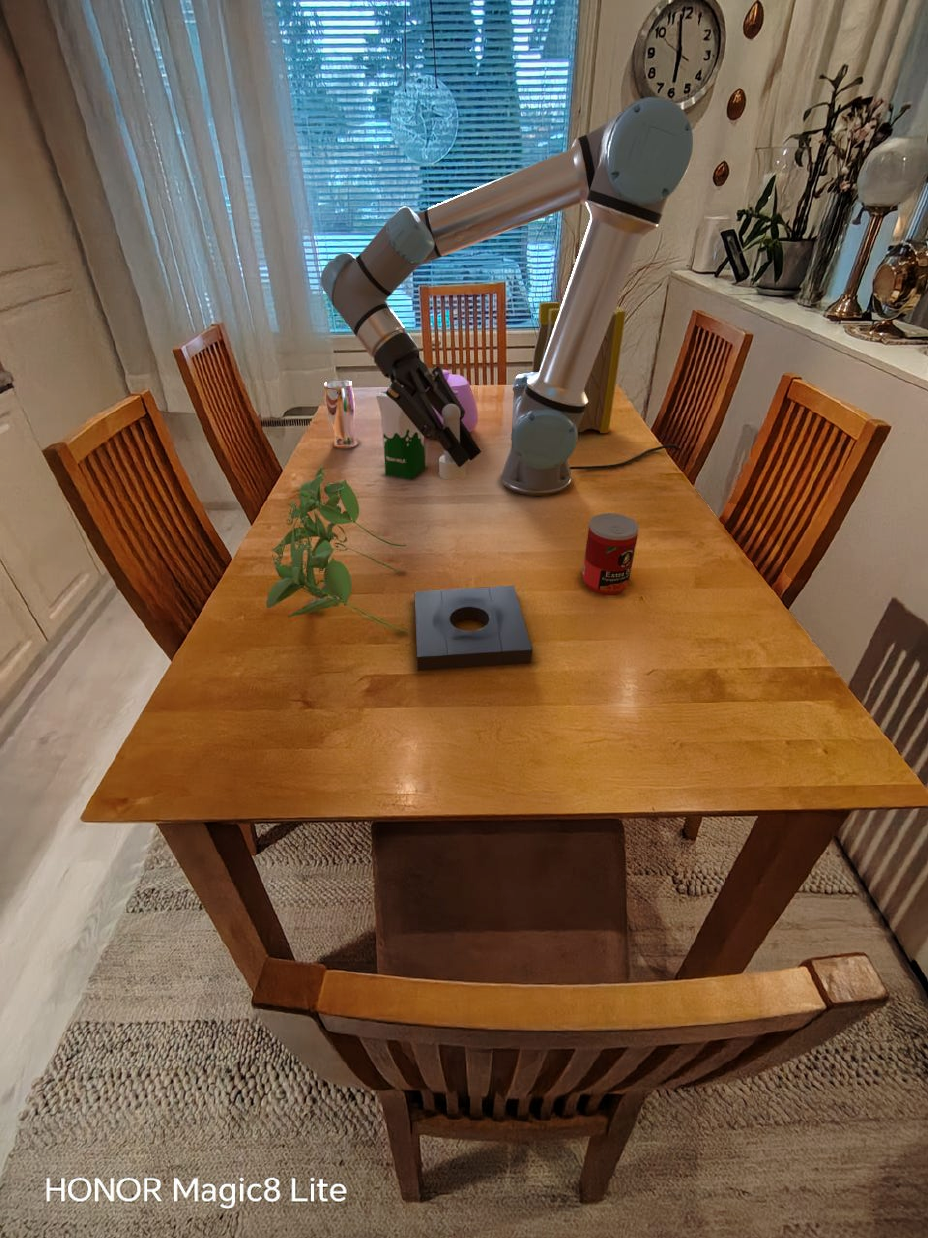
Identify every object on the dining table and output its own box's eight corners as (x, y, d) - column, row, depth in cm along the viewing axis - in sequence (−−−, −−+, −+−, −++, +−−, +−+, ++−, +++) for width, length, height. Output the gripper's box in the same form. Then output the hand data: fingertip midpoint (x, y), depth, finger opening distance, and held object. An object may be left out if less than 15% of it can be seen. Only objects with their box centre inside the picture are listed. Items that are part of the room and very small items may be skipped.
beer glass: (354, 450, 147) (346, 388, 138) (328, 448, 149) (318, 386, 139) (363, 440, 153) (356, 380, 144) (338, 438, 154) (329, 378, 145)
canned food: (601, 600, 95) (611, 540, 88) (572, 576, 101) (579, 518, 94) (638, 588, 98) (650, 529, 91) (607, 565, 103) (617, 508, 97)
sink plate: (513, 598, 96) (514, 585, 94) (531, 663, 83) (532, 649, 81) (415, 603, 95) (414, 591, 93) (418, 670, 82) (417, 657, 80)
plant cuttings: (376, 579, 113) (267, 521, 103) (426, 512, 105) (314, 443, 96) (371, 712, 85) (221, 649, 76) (439, 633, 78) (282, 553, 68)
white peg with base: (464, 468, 109) (463, 399, 101) (467, 479, 105) (466, 408, 98) (439, 469, 109) (436, 400, 101) (440, 480, 105) (437, 409, 97)
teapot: (394, 423, 163) (389, 366, 154) (468, 417, 166) (468, 360, 157) (407, 454, 145) (402, 391, 136) (489, 446, 149) (490, 384, 140)
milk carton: (430, 466, 139) (426, 378, 127) (413, 481, 132) (408, 389, 120) (397, 461, 141) (390, 374, 129) (379, 476, 135) (370, 385, 123)
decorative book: (598, 420, 163) (613, 298, 145) (611, 434, 155) (630, 306, 136) (527, 424, 161) (534, 301, 143) (537, 439, 152) (545, 310, 134)
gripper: (408, 350, 108) (482, 456, 111) (347, 370, 98) (431, 486, 101) (429, 322, 103) (507, 433, 105) (367, 339, 93) (455, 463, 95)
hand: (470, 459), depth 103 cm, fingers closed on white peg with base, 3 cm apart
